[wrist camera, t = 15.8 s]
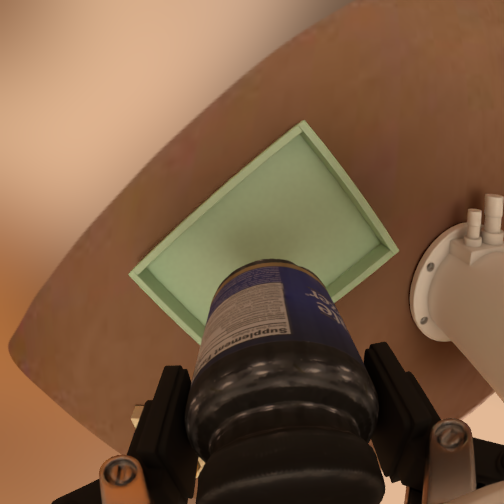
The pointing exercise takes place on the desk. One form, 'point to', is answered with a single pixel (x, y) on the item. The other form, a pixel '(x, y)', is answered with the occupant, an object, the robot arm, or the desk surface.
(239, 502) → the pill bottle
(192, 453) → the robot arm
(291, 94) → the desk surface
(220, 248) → the tray
